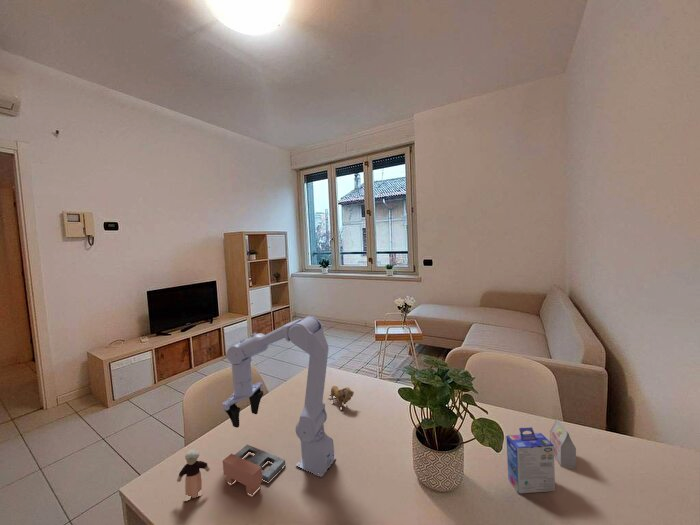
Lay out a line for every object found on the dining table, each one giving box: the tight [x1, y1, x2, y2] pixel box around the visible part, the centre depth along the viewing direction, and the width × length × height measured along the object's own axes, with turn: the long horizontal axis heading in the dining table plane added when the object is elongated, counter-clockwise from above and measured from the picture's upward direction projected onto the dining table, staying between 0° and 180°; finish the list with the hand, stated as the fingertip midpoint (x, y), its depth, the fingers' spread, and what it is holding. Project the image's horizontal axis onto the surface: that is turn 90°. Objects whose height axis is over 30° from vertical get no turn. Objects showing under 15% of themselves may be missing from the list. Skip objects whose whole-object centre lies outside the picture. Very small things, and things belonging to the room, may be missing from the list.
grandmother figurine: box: [176, 448, 211, 499], centre depth 76 cm, size 8×4×13 cm, turn 126°
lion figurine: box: [329, 385, 355, 408], centre depth 116 cm, size 15×5×9 cm, turn 45°
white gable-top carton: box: [549, 418, 577, 469], centre depth 83 cm, size 4×7×10 cm, turn 166°
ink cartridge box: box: [505, 426, 556, 494], centre depth 74 cm, size 10×6×14 cm, turn 92°
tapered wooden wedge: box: [222, 453, 263, 495], centre depth 79 cm, size 12×3×6 cm, turn 62°
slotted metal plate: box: [234, 444, 286, 482], centre depth 86 cm, size 16×7×2 cm, turn 62°
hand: (245, 419), depth 93 cm, fingers open, 7 cm apart
